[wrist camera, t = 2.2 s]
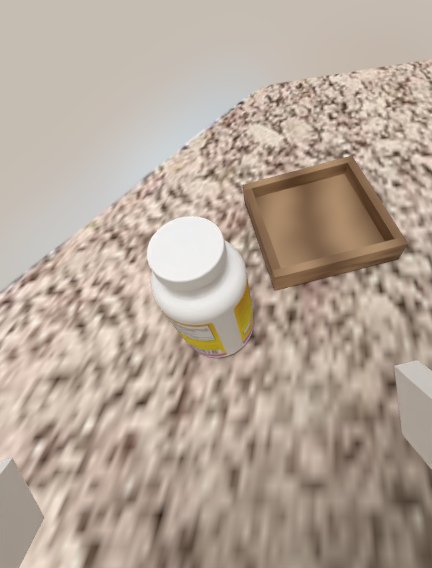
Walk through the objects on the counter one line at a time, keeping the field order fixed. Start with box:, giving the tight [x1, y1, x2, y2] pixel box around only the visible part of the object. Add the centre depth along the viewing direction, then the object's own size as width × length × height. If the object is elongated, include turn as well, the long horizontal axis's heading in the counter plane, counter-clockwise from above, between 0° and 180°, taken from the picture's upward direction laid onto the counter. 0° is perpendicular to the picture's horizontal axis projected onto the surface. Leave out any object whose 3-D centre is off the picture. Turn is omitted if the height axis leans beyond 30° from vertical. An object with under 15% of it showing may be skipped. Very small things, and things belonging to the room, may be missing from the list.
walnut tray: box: [243, 156, 408, 290], centre depth 32 cm, size 12×12×2 cm
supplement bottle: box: [147, 216, 254, 358], centre depth 24 cm, size 7×7×13 cm
